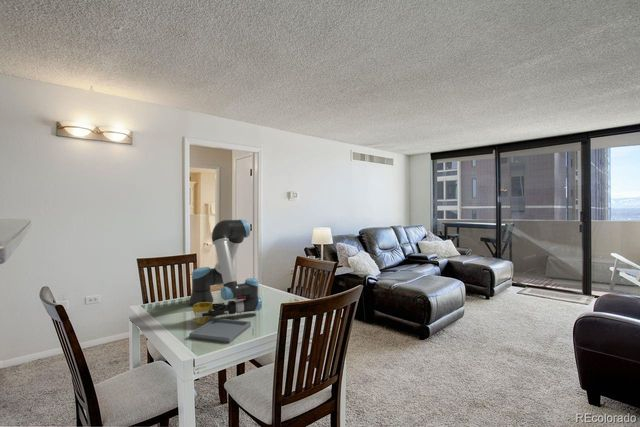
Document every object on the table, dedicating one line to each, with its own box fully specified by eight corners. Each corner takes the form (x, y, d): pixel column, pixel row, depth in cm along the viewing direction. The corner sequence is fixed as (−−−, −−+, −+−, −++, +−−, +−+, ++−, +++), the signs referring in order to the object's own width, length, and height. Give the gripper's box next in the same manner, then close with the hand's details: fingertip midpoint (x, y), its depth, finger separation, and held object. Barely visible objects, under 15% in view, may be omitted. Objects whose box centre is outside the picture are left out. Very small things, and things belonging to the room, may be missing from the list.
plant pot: (206, 326, 172) (206, 308, 172) (189, 324, 174) (189, 306, 174) (216, 319, 182) (216, 302, 182) (199, 317, 184) (199, 301, 184)
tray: (214, 322, 177) (214, 317, 177) (250, 326, 172) (250, 321, 172) (189, 338, 156) (189, 333, 156) (229, 343, 150) (229, 338, 150)
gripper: (239, 319, 175) (196, 326, 166) (231, 307, 196) (193, 312, 186) (239, 306, 175) (196, 311, 166) (231, 295, 196) (193, 300, 186)
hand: (194, 312), depth 176 cm, fingers closed on plant pot, 10 cm apart
